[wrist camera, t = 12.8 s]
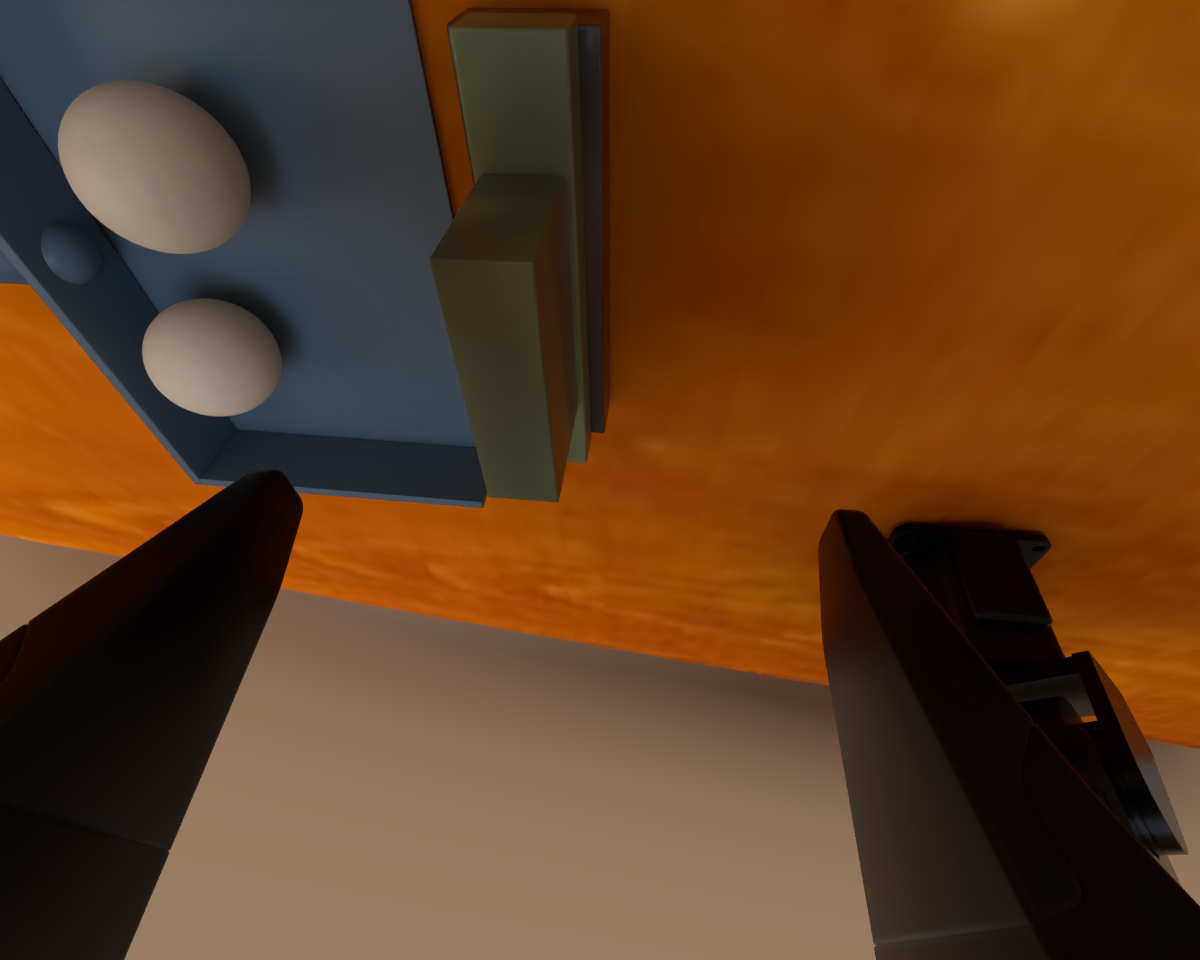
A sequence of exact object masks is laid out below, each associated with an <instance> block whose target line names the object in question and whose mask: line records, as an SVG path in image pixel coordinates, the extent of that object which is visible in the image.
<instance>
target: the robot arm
mask: <svg viewBox="0 0 1200 960" xmlns="http://www.w3.org/2000/svg"><path fill="white" fill-rule="evenodd" d="M302 513H303V503H302V500H301V498H300V496H299V495H298V493H297V492H296V490H295V489H294V487H293V486H292V484H291V483H290V481H289V480H288V478H287V477H286V475H285V474H284V473H283V472H282V471H280V470H276V469H262V468H259V469H254V470H252V471H250V472H248V473H247V474H245V475H244V476H242V477H241V478H239V479H238V480H237V481H235V482H234V483H232V484H231V485H229V486H228V487H226V488H225V489H223V490H222V491H220V492H219V493H217V494H216V495H214V496H213V497H211V498H210V499H208V500H207V501H206V502H204V503H203V504H201V505H200V506H198V507H197V508H195V509H194V510H192V511H191V512H189V513H188V514H186V515H185V516H183V517H182V518H180V519H179V520H178V521H176V522H175V523H173V524H172V525H170V526H169V527H167V528H166V529H164V530H163V531H161V532H160V533H158V534H157V535H155V536H154V537H152V538H151V539H150V540H148V541H147V542H145V543H144V544H142V545H141V546H139V547H138V548H136V549H135V550H133V551H132V552H130V553H129V554H127V555H126V556H124V557H123V558H122V559H120V560H119V561H117V562H116V563H114V564H113V565H111V566H110V567H108V568H107V569H105V570H104V571H102V572H101V573H99V574H98V575H97V576H95V577H93V578H92V579H91V580H89V581H88V582H86V583H85V584H83V585H82V586H80V587H79V588H77V589H76V590H74V591H73V592H71V593H70V594H68V595H67V596H66V597H64V598H62V599H61V600H60V601H58V602H57V603H55V604H54V605H52V606H51V607H49V608H48V609H46V610H45V611H43V612H42V613H40V614H39V615H38V616H36V617H34V618H33V619H32V620H30V621H29V623H28V624H25V625H23V626H21V627H20V628H18V629H17V630H15V631H14V632H12V633H11V634H9V635H8V636H6V637H5V638H3V639H2V640H0V960H124V959H125V956H126V954H127V952H128V949H129V947H130V944H131V942H132V940H133V938H134V935H135V933H136V930H137V928H138V926H139V923H140V921H141V919H142V916H143V914H144V912H145V909H146V907H147V905H148V902H149V900H150V897H151V895H152V893H153V890H154V888H155V886H156V883H157V881H158V879H159V876H160V874H161V871H162V869H163V867H164V864H165V862H166V859H167V857H168V855H169V850H170V849H171V847H172V845H173V842H174V840H175V837H176V835H177V832H178V830H179V828H180V826H181V823H182V821H183V818H184V816H185V814H186V811H187V809H188V807H189V804H190V802H191V800H192V797H193V795H194V792H195V790H196V788H197V785H198V783H199V780H200V778H201V776H202V774H203V771H204V769H205V766H206V764H207V762H208V759H209V757H210V754H211V752H212V750H213V748H214V745H215V743H216V740H217V738H218V736H219V733H220V731H221V729H222V726H223V724H224V722H225V719H226V717H227V714H228V712H229V710H230V707H231V705H232V702H233V700H234V698H235V695H236V693H237V691H238V688H239V686H240V683H241V681H242V679H243V677H244V674H245V672H246V669H247V667H248V665H249V662H250V660H251V658H252V655H253V653H254V650H255V648H256V645H257V643H258V641H259V639H260V636H261V634H262V632H263V629H264V627H265V625H266V622H267V620H268V617H269V615H270V612H271V610H272V608H273V606H274V603H275V600H276V598H277V595H278V593H279V590H280V587H281V584H282V581H283V578H284V574H285V571H286V568H287V564H288V561H289V557H290V554H291V551H292V547H293V544H294V541H295V537H296V534H297V530H298V527H299V524H300V520H301V517H302ZM1050 549H1051V544H1050V542H1049V540H1048V538H1047V537H1046V536H1044V535H1038V534H1026V533H1014V532H1001V531H989V530H977V529H964V528H952V527H939V526H927V525H915V524H904V525H900V526H898V527H896V528H895V529H894V531H893V532H892V534H891V535H890V537H889V539H888V540H887V539H886V538H885V537H884V536H883V534H882V533H881V532H880V531H879V529H878V528H877V527H876V526H875V524H874V523H873V522H872V521H871V520H870V518H869V517H868V516H867V515H866V514H865V513H863V512H862V511H857V510H843V509H838V510H836V511H834V512H833V514H832V515H831V517H830V520H829V522H828V524H827V526H826V528H825V530H824V532H823V534H822V537H821V539H820V542H819V548H818V559H819V580H820V602H821V624H822V640H823V648H824V655H825V661H826V667H827V673H828V679H829V684H830V690H831V696H832V702H833V708H834V714H835V720H836V725H837V731H838V737H839V743H840V749H841V755H842V761H843V767H844V772H845V778H846V784H847V790H848V796H849V802H850V807H851V813H852V819H853V825H854V830H855V837H856V842H857V848H858V855H859V860H860V866H861V872H862V877H863V884H864V889H865V896H866V901H867V907H868V913H869V918H870V925H871V931H872V937H873V942H874V944H875V945H876V946H875V947H874V950H875V956H876V960H1200V906H1199V905H1198V904H1197V903H1196V902H1195V901H1194V900H1193V899H1192V898H1191V897H1190V896H1189V894H1188V893H1187V892H1186V891H1185V890H1184V889H1183V888H1182V887H1181V885H1180V882H1179V880H1178V878H1177V876H1176V874H1175V871H1174V869H1173V867H1172V865H1171V863H1170V861H1169V859H1168V856H1167V855H1188V849H1187V846H1186V843H1185V840H1184V838H1183V835H1182V832H1181V830H1180V827H1179V824H1178V822H1177V819H1176V816H1175V813H1174V811H1173V808H1172V805H1171V803H1170V800H1169V797H1168V795H1167V792H1166V789H1165V787H1164V784H1163V781H1162V779H1161V776H1160V773H1159V771H1158V768H1157V765H1156V762H1155V760H1154V757H1153V755H1152V752H1151V750H1150V748H1149V746H1148V744H1147V742H1146V740H1145V738H1144V736H1143V734H1142V732H1141V730H1140V728H1139V727H1138V725H1137V723H1136V721H1135V719H1134V717H1133V715H1132V713H1131V711H1130V709H1129V707H1128V705H1127V704H1126V702H1125V700H1124V698H1123V696H1122V694H1121V693H1120V691H1119V690H1118V689H1117V687H1116V686H1115V685H1114V683H1113V682H1112V681H1111V679H1110V678H1109V677H1108V675H1107V674H1106V673H1105V671H1104V670H1103V669H1102V668H1101V666H1100V665H1099V664H1098V662H1097V661H1096V660H1095V658H1094V657H1093V656H1092V654H1091V653H1090V652H1089V651H1083V652H1078V653H1073V654H1072V656H1071V657H1066V658H1065V656H1064V654H1063V652H1062V649H1061V647H1060V645H1059V643H1058V640H1057V638H1056V636H1055V634H1054V632H1053V629H1052V627H1051V623H1052V622H1053V620H1052V617H1051V615H1050V612H1049V610H1048V608H1047V606H1046V604H1045V601H1044V599H1043V597H1042V595H1041V592H1040V590H1039V588H1038V586H1037V584H1036V581H1035V579H1034V577H1033V575H1032V573H1031V570H1030V568H1031V567H1032V566H1033V565H1034V564H1035V563H1036V562H1038V561H1039V560H1040V559H1041V558H1042V557H1043V556H1044V555H1045V554H1046V553H1047V552H1048V551H1049V550H1050ZM1092 715H1096V718H1097V720H1098V721H1093V722H1085V723H1083V721H1082V720H1081V718H1080V717H1085V716H1092Z"/></svg>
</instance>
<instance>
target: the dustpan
mask: <svg viewBox="0 0 1200 960" xmlns="http://www.w3.org/2000/svg"><path fill="white" fill-rule="evenodd" d="M0 76H1V78H2V79H3V81H4V82H5V84H6V85H7V87H8V88H9V90H10V91H11V93H12V94H13V96H14V97H15V99H16V100H17V102H18V103H19V105H20V106H21V108H22V109H23V111H24V112H25V114H26V115H27V117H28V118H29V120H30V121H31V123H32V124H33V126H34V127H35V129H36V130H37V132H38V133H39V135H40V136H41V138H42V139H43V141H44V142H45V144H46V145H47V147H48V148H49V150H50V151H51V152H52V154H53V155H54V157H55V158H56V160H57V161H58V163H59V164H60V166H61V167H62V165H61V162H60V158H59V150H58V132H59V128H60V124H61V120H62V118H63V116H64V114H65V111H66V110H67V108H68V107H69V106H70V105H71V103H72V102H73V101H74V100H75V99H76V98H77V97H78V96H79V95H80V94H81V93H83V92H85V91H86V90H88V89H90V88H92V87H94V86H97V85H100V84H103V83H106V82H112V81H140V82H147V83H151V84H155V85H159V86H162V87H165V88H167V89H170V90H173V91H175V92H177V93H179V94H181V95H183V96H185V97H187V98H188V99H190V100H192V101H193V102H195V103H196V104H198V105H199V106H200V107H202V108H203V109H205V110H206V111H207V112H208V113H209V114H210V115H212V116H213V117H214V118H215V119H216V120H217V121H218V122H219V123H220V124H221V125H222V126H223V127H224V129H225V130H226V131H227V132H228V134H229V135H230V136H231V138H232V139H233V141H234V142H235V144H236V145H237V147H238V149H239V151H240V153H241V155H242V157H243V159H244V161H245V164H246V167H247V170H248V174H249V179H250V185H251V200H250V206H249V211H248V213H247V216H246V219H245V221H244V222H243V224H242V226H241V227H240V229H239V230H238V231H237V232H236V233H235V235H234V236H232V237H231V238H230V239H229V240H228V241H226V242H225V243H223V244H221V245H220V246H218V247H216V248H213V249H210V250H207V251H204V252H199V253H192V254H174V253H165V252H160V251H156V250H152V249H149V248H145V247H143V246H140V245H138V244H135V243H133V242H131V241H129V240H127V239H125V238H123V237H121V236H120V235H118V234H116V233H115V232H113V231H112V230H111V229H109V228H108V227H106V226H105V225H104V224H102V223H101V222H100V221H99V220H98V219H97V218H96V217H95V216H94V217H95V218H96V220H97V221H98V223H99V224H100V226H101V227H102V229H103V230H104V232H105V233H106V235H107V236H108V238H109V239H110V241H111V242H112V244H113V245H114V247H115V248H116V249H117V251H118V252H119V254H120V255H121V257H122V258H123V260H124V261H125V263H126V264H127V266H128V267H129V269H130V270H131V272H132V273H133V275H134V276H135V278H136V279H137V281H138V282H139V284H140V285H141V287H142V288H143V290H144V291H145V293H146V294H147V296H148V297H149V299H150V300H151V302H152V303H153V305H154V306H155V308H156V309H157V311H158V312H159V314H160V313H161V312H162V311H163V310H165V309H166V308H168V307H170V306H172V305H174V304H177V303H179V302H182V301H186V300H191V299H217V300H222V301H226V302H229V303H232V304H235V305H237V306H240V307H242V308H244V309H246V310H247V311H249V312H250V313H252V314H253V315H255V316H256V317H257V318H258V319H260V320H261V321H262V322H263V323H264V324H265V325H266V326H267V328H268V329H269V330H270V332H271V333H272V335H273V336H274V338H275V340H276V342H277V344H278V347H279V350H280V354H281V361H282V365H281V374H280V378H279V381H278V384H277V386H276V388H275V389H274V391H273V392H272V394H271V395H270V396H269V397H268V398H267V399H266V400H265V401H264V402H263V403H261V404H260V405H259V406H257V407H255V408H254V409H252V410H250V411H247V412H244V413H241V414H237V415H232V416H207V415H202V414H198V413H195V412H192V411H189V410H186V409H184V408H182V407H180V406H178V405H177V404H175V403H173V402H172V401H170V400H169V399H168V398H167V397H165V396H164V395H163V394H162V393H161V392H160V391H159V390H158V389H157V388H156V386H155V385H154V384H153V382H152V381H151V379H150V378H149V376H148V373H147V371H146V369H145V366H144V362H143V356H142V345H143V339H144V335H145V333H146V331H147V328H148V327H149V325H150V324H151V322H152V321H153V320H154V319H155V318H156V317H157V315H158V312H157V311H156V309H155V308H154V306H153V305H152V303H151V302H150V300H149V299H148V297H147V296H146V294H145V293H144V291H143V290H142V288H141V287H140V285H139V284H138V282H137V281H136V279H135V278H134V276H133V275H132V273H131V272H130V270H129V269H128V267H127V266H126V264H125V263H124V261H123V260H122V258H121V257H120V255H119V254H118V252H117V251H116V250H115V248H114V247H113V245H112V244H111V242H110V241H109V239H108V238H107V236H106V235H105V233H104V232H103V230H102V229H101V227H100V226H99V224H98V223H97V221H96V220H95V218H94V217H93V215H92V214H91V213H90V212H89V211H88V210H87V208H86V207H85V206H84V205H83V204H82V203H81V201H80V200H79V199H78V197H77V196H76V194H75V193H74V191H73V190H72V188H71V186H70V184H69V182H68V180H67V178H66V176H65V174H64V172H63V171H62V169H63V168H62V169H61V168H60V166H59V165H58V163H57V162H56V160H55V159H54V157H53V156H52V154H51V153H50V151H49V150H48V148H47V147H46V145H45V144H44V142H43V141H42V139H41V138H40V136H39V135H38V133H37V132H36V130H35V129H34V127H33V126H32V124H31V123H30V121H29V120H28V118H27V117H26V115H25V114H24V113H23V111H22V110H21V108H20V107H19V105H18V104H17V102H16V101H15V99H14V98H13V96H12V95H11V93H10V92H9V90H8V89H7V87H6V86H5V84H4V83H3V81H2V80H1V78H0V283H14V284H30V286H31V287H32V288H33V289H34V290H35V292H36V293H37V294H38V295H39V296H40V298H41V299H42V300H43V301H44V302H45V304H46V305H47V306H48V307H49V308H50V310H51V311H52V312H53V313H54V314H55V316H56V317H57V318H58V319H59V321H60V322H61V323H62V324H63V325H64V327H65V328H66V329H67V330H68V331H69V333H70V334H71V335H72V336H73V337H74V339H75V340H76V341H77V342H78V343H79V345H80V346H81V347H82V348H83V349H84V351H85V352H86V353H87V354H88V355H89V357H90V358H91V359H92V360H93V362H94V363H95V364H96V365H97V366H98V368H99V369H100V370H101V371H102V372H103V374H104V375H105V376H106V377H107V378H108V380H109V381H110V382H111V383H112V384H113V386H114V387H115V388H116V389H117V390H118V392H119V393H120V394H121V395H122V396H123V398H124V399H125V400H126V401H127V403H128V404H129V405H130V406H131V407H132V409H133V410H134V411H135V412H136V413H137V415H138V416H139V417H140V418H141V419H142V421H143V422H144V423H145V424H146V425H147V427H148V428H149V429H150V430H151V431H152V433H153V434H154V435H155V436H156V438H157V439H158V440H159V441H160V442H161V444H162V445H163V446H164V447H165V448H166V450H167V451H168V452H169V453H170V454H171V456H172V457H173V458H174V459H175V460H176V462H177V463H178V464H179V465H180V466H181V468H182V469H183V470H184V471H185V472H186V474H187V475H188V476H189V477H190V479H191V480H192V481H193V482H194V483H195V484H200V485H203V484H204V485H212V486H224V487H228V486H229V485H231V484H232V483H234V482H235V481H237V480H238V479H239V478H241V477H242V476H244V475H245V474H247V473H248V472H250V471H252V470H254V469H259V468H262V469H276V470H280V471H282V472H283V473H284V474H285V475H286V477H287V478H288V480H289V481H290V483H291V484H292V486H293V487H294V489H295V490H296V492H297V493H308V494H320V495H332V496H343V497H355V498H367V499H379V500H391V501H403V502H415V503H427V504H439V505H451V506H463V507H475V508H483V506H484V503H485V500H486V497H487V494H488V493H487V489H486V485H485V481H484V477H483V473H482V469H481V465H480V461H479V457H478V454H477V450H476V446H475V442H474V438H473V434H472V430H471V426H470V422H469V418H468V414H467V410H466V406H465V402H464V398H463V394H462V390H461V386H460V382H459V378H458V374H457V370H456V366H455V362H454V358H453V354H452V350H451V346H450V342H449V338H448V334H447V330H446V326H445V322H444V318H443V314H442V310H441V306H440V302H439V298H438V294H437V290H436V286H435V282H434V278H433V274H432V270H431V266H430V262H429V258H430V256H431V255H432V253H433V251H434V250H435V248H436V246H437V245H438V243H439V242H440V240H441V238H442V237H443V235H444V234H445V232H446V230H447V229H448V227H449V225H450V224H451V222H452V221H453V214H452V209H451V204H450V199H449V194H448V189H447V184H446V179H445V174H444V169H443V164H442V159H441V154H440V149H439V144H438V139H437V133H436V128H435V123H434V118H433V113H432V108H431V103H430V98H429V93H428V88H427V83H426V78H425V73H424V68H423V63H422V58H421V53H420V48H419V43H418V38H417V33H416V28H415V23H414V18H413V13H412V8H411V3H410V0H0ZM228 417H229V418H230V419H229V418H228ZM230 420H231V421H232V422H231V421H230ZM232 423H233V424H234V425H233V424H232ZM234 426H235V427H236V428H235V427H234ZM236 429H237V430H236Z"/></svg>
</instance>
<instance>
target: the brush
mask: <svg viewBox="0 0 1200 960" xmlns="http://www.w3.org/2000/svg"><path fill="white" fill-rule="evenodd" d="M447 31H448V37H449V42H450V48H451V54H452V60H453V66H454V72H455V78H456V84H457V89H458V95H459V101H460V107H461V113H462V119H463V125H464V130H465V136H466V142H467V148H468V154H469V160H470V166H471V172H472V177H473V183H474V187H473V188H472V190H471V192H470V193H469V195H468V196H467V198H466V200H465V201H464V203H463V204H462V206H461V208H460V209H459V211H458V213H457V214H456V216H455V217H454V219H453V221H452V222H451V224H450V225H449V227H448V229H447V230H446V232H445V234H444V235H443V237H442V238H441V240H440V242H439V243H438V245H437V246H436V248H435V250H434V251H433V253H432V255H431V256H430V258H429V262H430V266H431V270H432V274H433V278H434V282H435V286H436V290H437V294H438V298H439V302H440V306H441V310H442V314H443V318H444V322H445V326H446V330H447V334H448V338H449V342H450V346H451V350H452V354H453V358H454V362H455V366H456V370H457V374H458V378H459V382H460V386H461V390H462V394H463V398H464V402H465V406H466V410H467V414H468V418H469V422H470V426H471V430H472V434H473V438H474V442H475V446H476V450H477V454H478V457H479V461H480V465H481V469H482V473H483V477H484V481H485V485H486V489H487V493H488V496H489V497H497V498H510V499H522V500H535V501H548V502H558V501H559V497H560V492H561V487H562V482H563V477H564V472H565V467H566V463H567V462H575V463H586V462H587V458H588V453H589V447H590V441H591V432H595V433H604V432H605V428H606V421H607V415H608V408H609V10H607V9H550V8H467V9H466V10H464V11H463V12H462V13H460V14H459V15H458V16H457V17H455V18H454V19H453V20H452V21H450V22H449V23H448V24H447Z"/></svg>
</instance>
